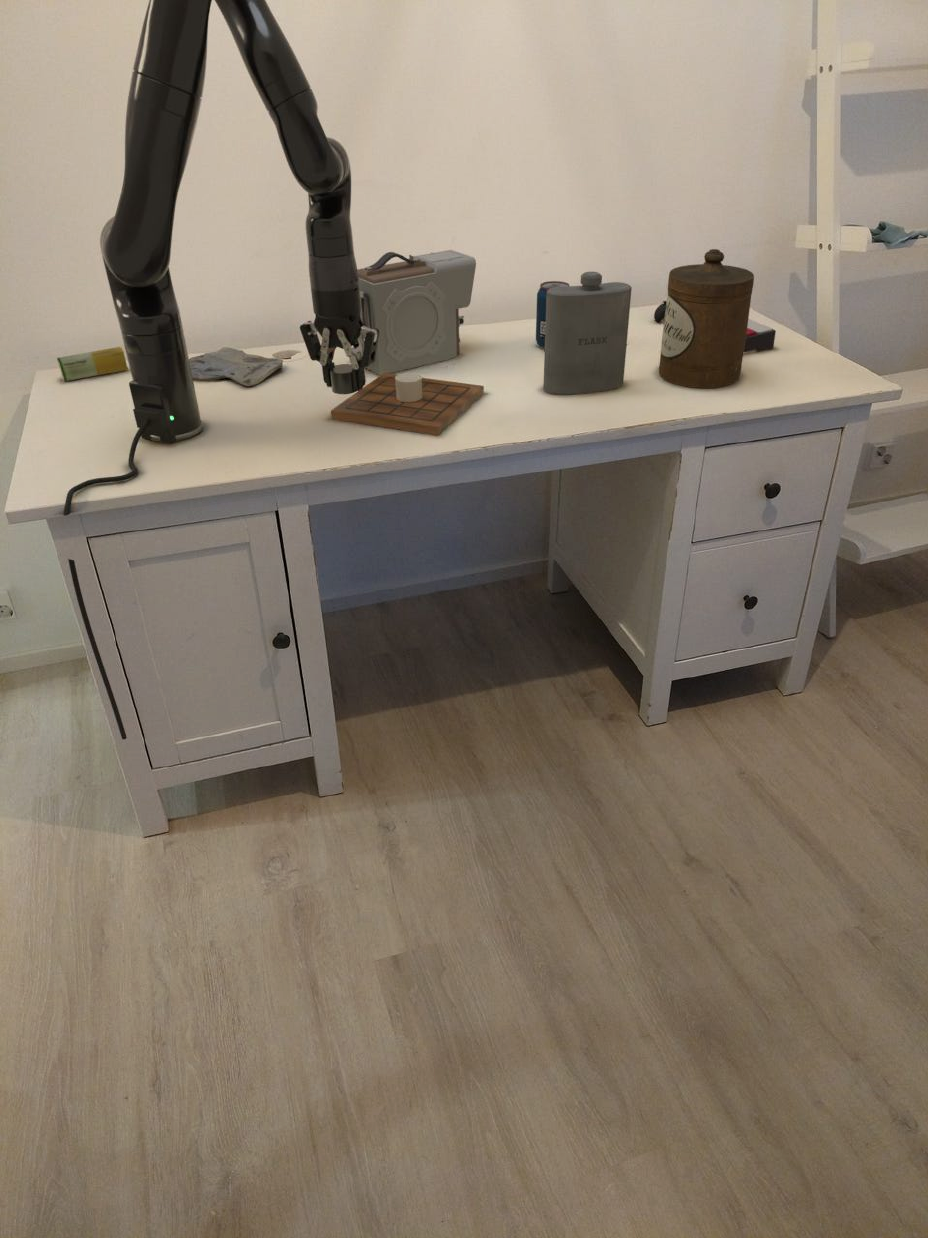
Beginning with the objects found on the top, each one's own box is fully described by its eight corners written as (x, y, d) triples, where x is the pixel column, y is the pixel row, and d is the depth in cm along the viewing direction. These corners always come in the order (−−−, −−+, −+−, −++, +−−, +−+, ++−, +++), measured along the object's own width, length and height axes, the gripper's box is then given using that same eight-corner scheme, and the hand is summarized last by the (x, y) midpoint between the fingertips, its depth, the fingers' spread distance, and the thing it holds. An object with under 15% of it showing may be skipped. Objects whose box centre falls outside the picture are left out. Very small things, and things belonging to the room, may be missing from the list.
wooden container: (653, 361, 172) (665, 241, 159) (730, 361, 171) (748, 240, 159) (664, 389, 160) (679, 261, 147) (747, 388, 159) (769, 259, 147)
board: (437, 435, 145) (437, 426, 144) (331, 418, 151) (330, 410, 150) (483, 393, 160) (483, 385, 159) (385, 380, 166) (384, 372, 165)
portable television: (478, 352, 178) (477, 188, 161) (375, 377, 168) (362, 204, 150) (445, 337, 187) (441, 180, 169) (345, 360, 176) (330, 195, 159)
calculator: (680, 326, 178) (741, 312, 182) (678, 347, 180) (738, 333, 185) (715, 341, 170) (777, 326, 174) (712, 363, 172) (774, 348, 177)
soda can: (546, 338, 185) (548, 278, 178) (575, 343, 182) (579, 283, 175) (529, 347, 181) (530, 286, 174) (558, 353, 177) (561, 291, 170)
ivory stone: (415, 403, 152) (414, 383, 150) (391, 400, 154) (390, 379, 152) (426, 394, 156) (426, 374, 154) (403, 391, 157) (402, 371, 155)
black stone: (350, 395, 147) (348, 374, 145) (326, 392, 149) (324, 371, 147) (363, 386, 151) (362, 365, 149) (340, 383, 152) (337, 362, 150)
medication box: (64, 382, 168) (58, 362, 166) (61, 377, 170) (55, 357, 168) (128, 370, 173) (123, 350, 170) (125, 364, 175) (120, 345, 172)
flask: (549, 397, 157) (553, 280, 146) (539, 386, 162) (543, 272, 151) (628, 389, 160) (639, 274, 149) (617, 378, 165) (626, 265, 153)
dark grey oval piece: (654, 319, 191) (655, 293, 192) (651, 331, 196) (652, 306, 197) (700, 320, 190) (700, 294, 191) (695, 332, 196) (696, 307, 197)
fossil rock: (290, 368, 173) (288, 356, 171) (239, 394, 162) (236, 381, 161) (221, 355, 180) (219, 343, 178) (167, 378, 169) (165, 366, 168)
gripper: (282, 284, 139) (297, 390, 149) (363, 292, 134) (372, 400, 144) (307, 273, 145) (319, 375, 155) (385, 279, 140) (393, 384, 150)
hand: (345, 386), depth 149 cm, fingers closed on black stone, 4 cm apart
